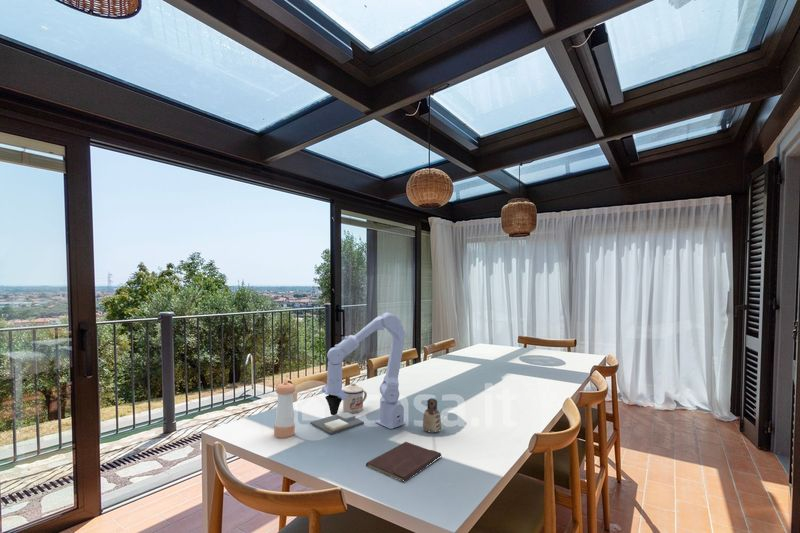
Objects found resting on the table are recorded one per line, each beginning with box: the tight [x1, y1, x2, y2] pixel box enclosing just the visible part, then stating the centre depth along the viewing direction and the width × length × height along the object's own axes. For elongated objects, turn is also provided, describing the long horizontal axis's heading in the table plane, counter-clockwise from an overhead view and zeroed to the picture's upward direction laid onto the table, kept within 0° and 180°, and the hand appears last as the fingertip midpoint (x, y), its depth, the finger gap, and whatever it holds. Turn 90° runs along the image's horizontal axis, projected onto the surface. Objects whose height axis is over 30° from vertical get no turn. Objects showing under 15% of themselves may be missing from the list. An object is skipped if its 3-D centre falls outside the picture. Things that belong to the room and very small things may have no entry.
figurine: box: [422, 397, 442, 432], centre depth 146 cm, size 7×7×12 cm
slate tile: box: [336, 411, 356, 422], centre depth 154 cm, size 6×5×1 cm
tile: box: [324, 419, 348, 431], centre depth 145 cm, size 1×7×6 cm
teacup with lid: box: [342, 382, 368, 414], centre depth 167 cm, size 12×9×12 cm
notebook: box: [365, 441, 442, 482], centre depth 119 cm, size 15×20×2 cm
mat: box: [309, 412, 365, 436], centre depth 150 cm, size 14×16×1 cm
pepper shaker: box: [273, 381, 296, 439], centre depth 140 cm, size 7×7×19 cm
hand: (333, 414), depth 146 cm, fingers closed
